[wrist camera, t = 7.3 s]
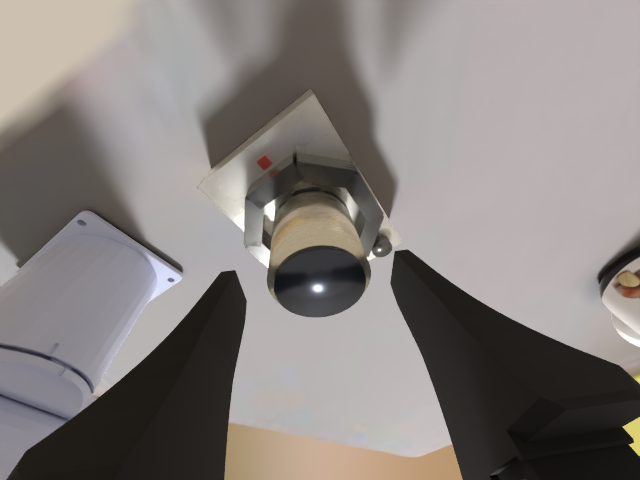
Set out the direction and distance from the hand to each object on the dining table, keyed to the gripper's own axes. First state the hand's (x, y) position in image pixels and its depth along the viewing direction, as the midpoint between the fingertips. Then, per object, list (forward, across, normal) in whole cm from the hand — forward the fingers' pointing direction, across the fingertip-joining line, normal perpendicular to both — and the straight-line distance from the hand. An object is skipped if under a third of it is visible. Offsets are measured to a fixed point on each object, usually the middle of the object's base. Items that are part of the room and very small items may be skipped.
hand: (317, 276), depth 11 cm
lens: (+5, 0, 0) cm, 5 cm away
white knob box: (+8, 0, 0) cm, 8 cm away
